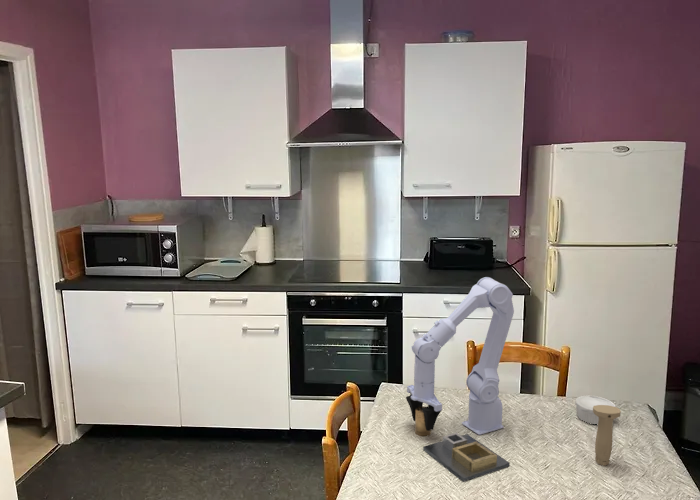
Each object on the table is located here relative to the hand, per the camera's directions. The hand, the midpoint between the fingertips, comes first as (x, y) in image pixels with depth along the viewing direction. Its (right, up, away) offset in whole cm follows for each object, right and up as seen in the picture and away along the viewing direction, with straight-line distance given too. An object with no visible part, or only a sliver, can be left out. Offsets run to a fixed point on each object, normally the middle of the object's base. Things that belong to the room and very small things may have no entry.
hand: (423, 424), depth 163 cm
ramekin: (+53, -1, +9) cm, 54 cm away
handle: (+45, -5, -15) cm, 47 cm away
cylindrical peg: (0, -2, 0) cm, 2 cm away
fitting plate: (+9, -5, -13) cm, 17 cm away
